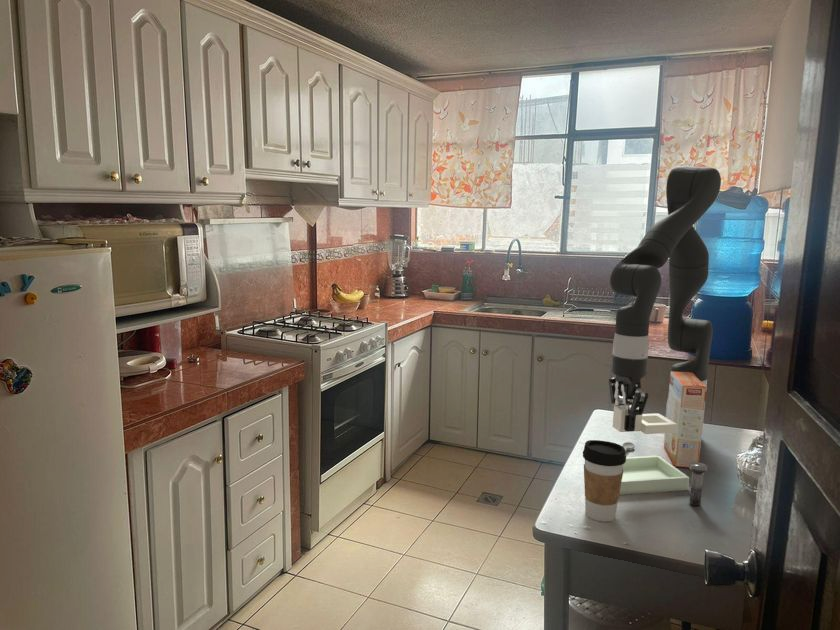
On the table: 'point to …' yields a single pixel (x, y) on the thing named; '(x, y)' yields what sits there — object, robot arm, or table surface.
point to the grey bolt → (696, 483)
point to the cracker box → (685, 418)
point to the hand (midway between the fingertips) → (624, 427)
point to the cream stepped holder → (644, 422)
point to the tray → (651, 476)
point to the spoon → (628, 446)
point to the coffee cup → (602, 478)
